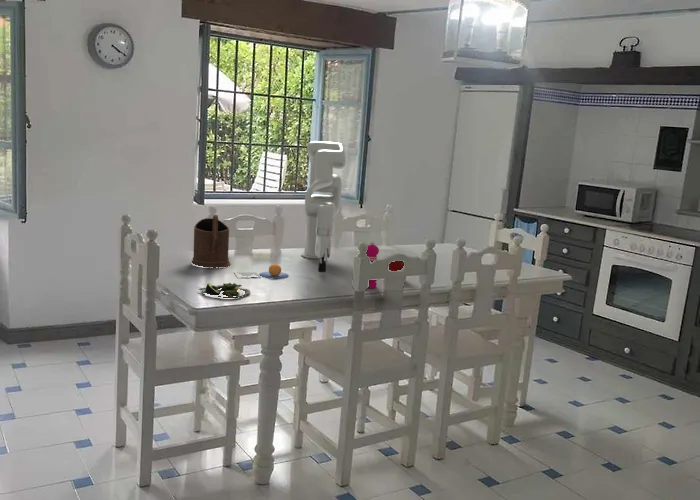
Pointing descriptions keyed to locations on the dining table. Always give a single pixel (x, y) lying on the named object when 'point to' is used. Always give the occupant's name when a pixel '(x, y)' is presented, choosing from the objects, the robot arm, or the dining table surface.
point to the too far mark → (249, 274)
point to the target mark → (280, 276)
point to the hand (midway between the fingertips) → (321, 271)
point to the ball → (274, 269)
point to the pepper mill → (372, 255)
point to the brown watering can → (211, 243)
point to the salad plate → (228, 290)
